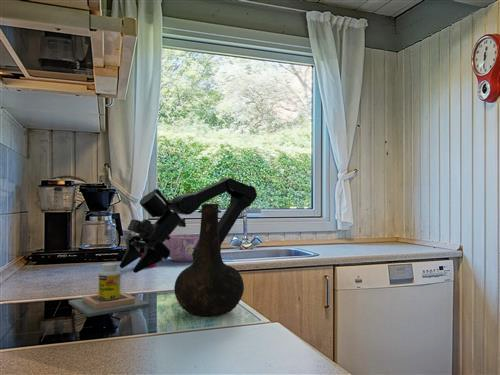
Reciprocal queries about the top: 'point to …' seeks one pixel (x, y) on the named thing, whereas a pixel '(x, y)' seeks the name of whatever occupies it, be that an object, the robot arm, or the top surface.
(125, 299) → the dock
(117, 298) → the supplement bottle
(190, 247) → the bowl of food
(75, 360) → the top surface
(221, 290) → the dark brown vase
